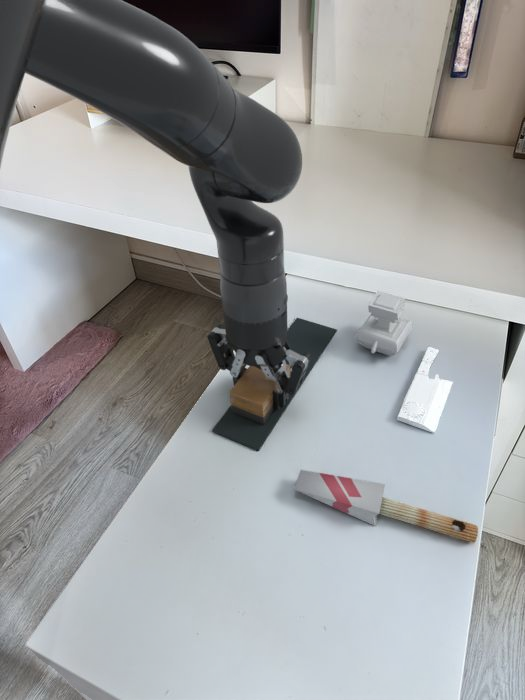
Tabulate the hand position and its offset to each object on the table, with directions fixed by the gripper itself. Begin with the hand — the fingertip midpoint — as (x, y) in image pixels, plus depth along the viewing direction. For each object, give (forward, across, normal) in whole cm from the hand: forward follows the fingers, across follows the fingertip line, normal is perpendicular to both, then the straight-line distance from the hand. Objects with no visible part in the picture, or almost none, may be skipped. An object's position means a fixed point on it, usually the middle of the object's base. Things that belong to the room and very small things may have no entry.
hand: (261, 397), depth 70 cm
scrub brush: (0, 0, 0) cm, 0 cm away
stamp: (+1, +11, +18) cm, 22 cm away
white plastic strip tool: (+1, +20, +12) cm, 24 cm away
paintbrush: (+1, +20, -8) cm, 22 cm away
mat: (+1, 0, +6) cm, 6 cm away
